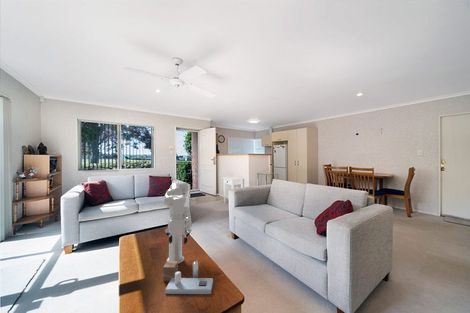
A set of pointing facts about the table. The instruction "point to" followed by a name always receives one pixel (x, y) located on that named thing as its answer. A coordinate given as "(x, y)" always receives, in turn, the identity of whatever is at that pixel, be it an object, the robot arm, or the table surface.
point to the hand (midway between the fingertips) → (178, 243)
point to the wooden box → (170, 270)
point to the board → (189, 285)
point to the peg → (195, 269)
